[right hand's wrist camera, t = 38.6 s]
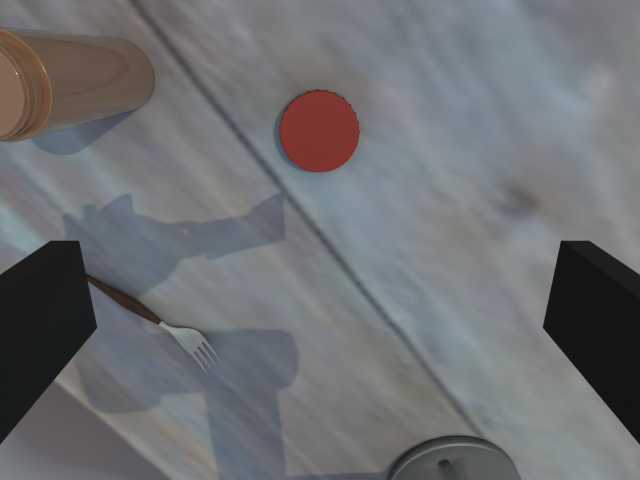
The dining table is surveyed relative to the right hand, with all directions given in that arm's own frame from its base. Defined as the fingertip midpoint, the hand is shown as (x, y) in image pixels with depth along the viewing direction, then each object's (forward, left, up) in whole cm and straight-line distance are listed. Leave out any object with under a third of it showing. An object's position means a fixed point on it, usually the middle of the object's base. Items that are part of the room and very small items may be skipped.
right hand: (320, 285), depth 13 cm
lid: (0, 0, -26) cm, 26 cm away
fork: (-23, +7, -28) cm, 37 cm away
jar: (-3, +17, -28) cm, 33 cm away
